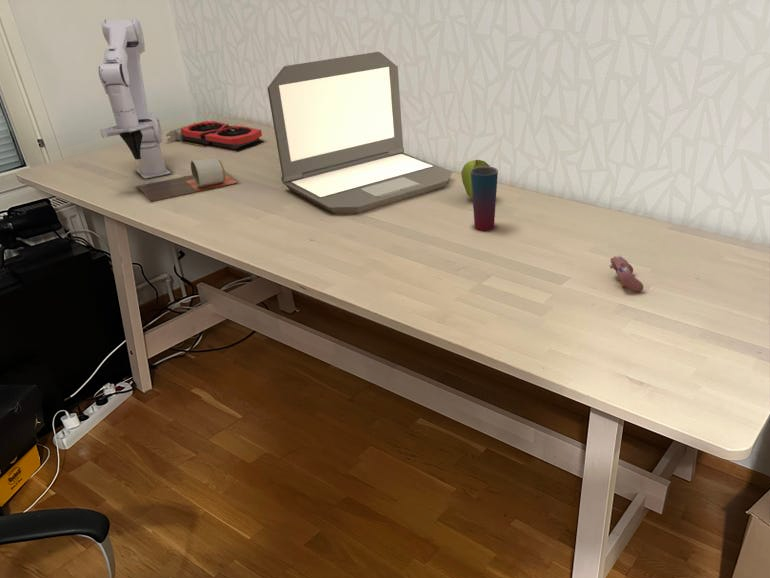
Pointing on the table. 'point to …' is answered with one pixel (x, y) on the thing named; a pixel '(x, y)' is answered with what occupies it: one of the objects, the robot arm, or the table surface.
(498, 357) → the table surface
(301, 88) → the laptop
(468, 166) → the apple
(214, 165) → the ceramic mug
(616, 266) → the reddish brown lumpy piece
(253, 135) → the graphics card
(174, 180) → the walnut board
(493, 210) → the cup
